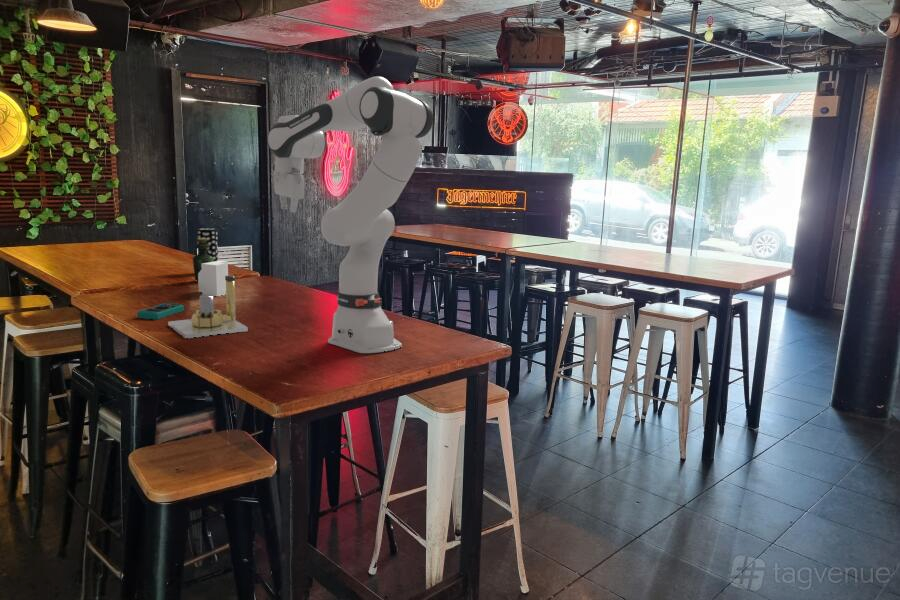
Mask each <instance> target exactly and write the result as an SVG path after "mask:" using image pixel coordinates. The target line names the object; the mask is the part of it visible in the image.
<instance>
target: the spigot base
mask: <svg viewBox="0 0 900 600" xmlns="http://www.w3.org/2000/svg"><path fill="white" fill-rule="evenodd" d="M199 310H200V314H201V318H210V317H211V316H210V314H214V310H215V297H214V295H203V294H201V295H199ZM193 314H196V312H194V313H192V315H193ZM167 323H168V325H167V326H169V327H170V328H171V329H172V328H173V329H172V330H174V332H176V333H178V334H179V335H180V336H181V335H182V338H184V339H185V340H186V338H188V339H195V338H194V337H196V338H203V337H202V336H204V337H210V336H209V335H213V336H218V335H217V334H221V335H227V334H226V333H229V334H236V333H237V332H238V333H244V332H245V333H247V332H249V329H248V326H246V325H245V324H243V323H241V322H240V321H238V320H236V319H234V320H228V321H223V323H222V324H221V325H218V326H213V327H198V326H194V325H192V318H190V319H189V318H187V319H180V320H170V321H167Z"/></svg>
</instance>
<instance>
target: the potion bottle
mask: <svg viewBox="0 0 900 600" xmlns="http://www.w3.org/2000/svg"><path fill="white" fill-rule="evenodd" d="M206 242H207V239H206V238H197V243H195V244H194V245H195V246H194V247H195V248H196V249H197V252H198V251H199V254H198V253H197V254H196V255H194V256H193V257H192V264H193V272H194V280H197V281H198V273H199V272H200V271H201V270H202V267H201V264H203V263H208V262H213V258H212V256H210V255H208V254H206V253H207V248H209V247H210V246H209V244H206ZM198 243H199V244H198Z"/></svg>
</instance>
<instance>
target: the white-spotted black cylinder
mask: <svg viewBox="0 0 900 600" xmlns="http://www.w3.org/2000/svg"><path fill="white" fill-rule="evenodd" d="M196 233H197V234H196V235H197V237H196V238H197V239H198V238H206V239H207V242H206V244H209V246H210V247H209V248H207V253H206V254H208V255H210V256H212V258H213V262H214V261H219V249H218V248H219V245H218V244H219V242H218V229H217V228H215V227H214V228H213V227H212V228H211V227H210V228H209V227H202V228H197V229H196ZM197 244H199V243H198V242H197ZM198 254H199V251H198V250H197V255H198Z"/></svg>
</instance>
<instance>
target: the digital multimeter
mask: <svg viewBox="0 0 900 600" xmlns="http://www.w3.org/2000/svg"><path fill="white" fill-rule="evenodd" d="M184 309H185V306H184V305H183V304H180V303H175V302H164V303H161V304H158V305H155V306H151V307H148V308H145V309H141V310H138V311H137V312H136V313H137V314H136V315H137V319H141V318H143V320H150V319H153V320H152V321H159V320H161V318H162V319H164V318H166V316H167V317H170V316H173V315H176V314H179V313H178V312H180V313H182V311H183V312H184V311H185V310H184ZM175 313H176V314H175ZM172 314H173V315H172ZM169 315H170V316H169ZM158 319H159V320H158Z"/></svg>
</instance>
